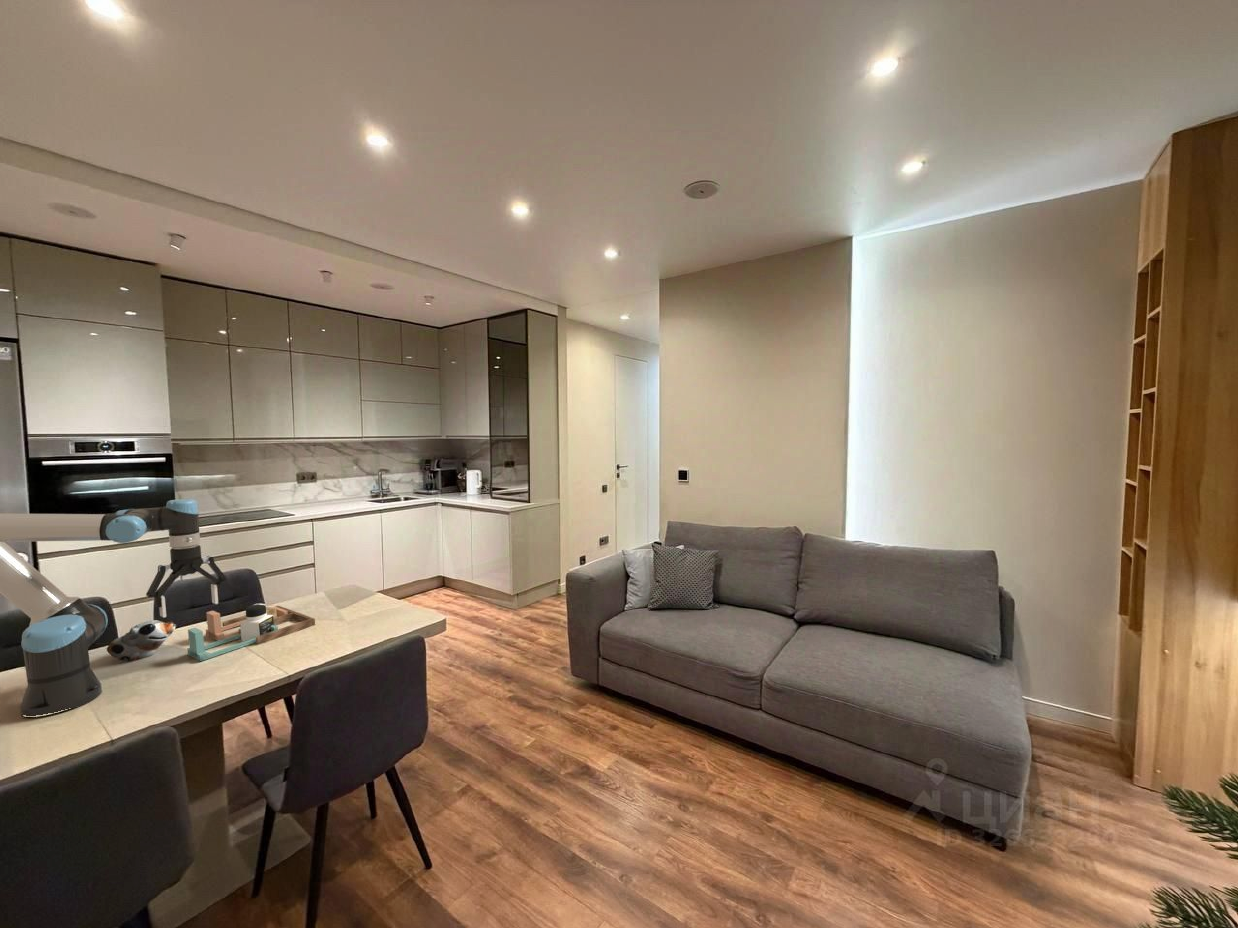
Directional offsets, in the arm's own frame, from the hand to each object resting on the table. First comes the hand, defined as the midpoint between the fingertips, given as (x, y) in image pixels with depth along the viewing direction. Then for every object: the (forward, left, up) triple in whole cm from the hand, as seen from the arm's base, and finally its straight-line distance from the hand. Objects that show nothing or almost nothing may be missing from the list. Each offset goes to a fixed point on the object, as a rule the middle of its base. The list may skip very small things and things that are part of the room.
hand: (190, 609), depth 162 cm
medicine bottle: (+18, 0, -17) cm, 25 cm away
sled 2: (+11, 0, -16) cm, 20 cm away
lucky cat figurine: (-7, +20, -17) cm, 27 cm away
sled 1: (+21, +13, -16) cm, 30 cm away
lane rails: (+25, +7, -17) cm, 31 cm away
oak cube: (+27, +13, -17) cm, 34 cm away
